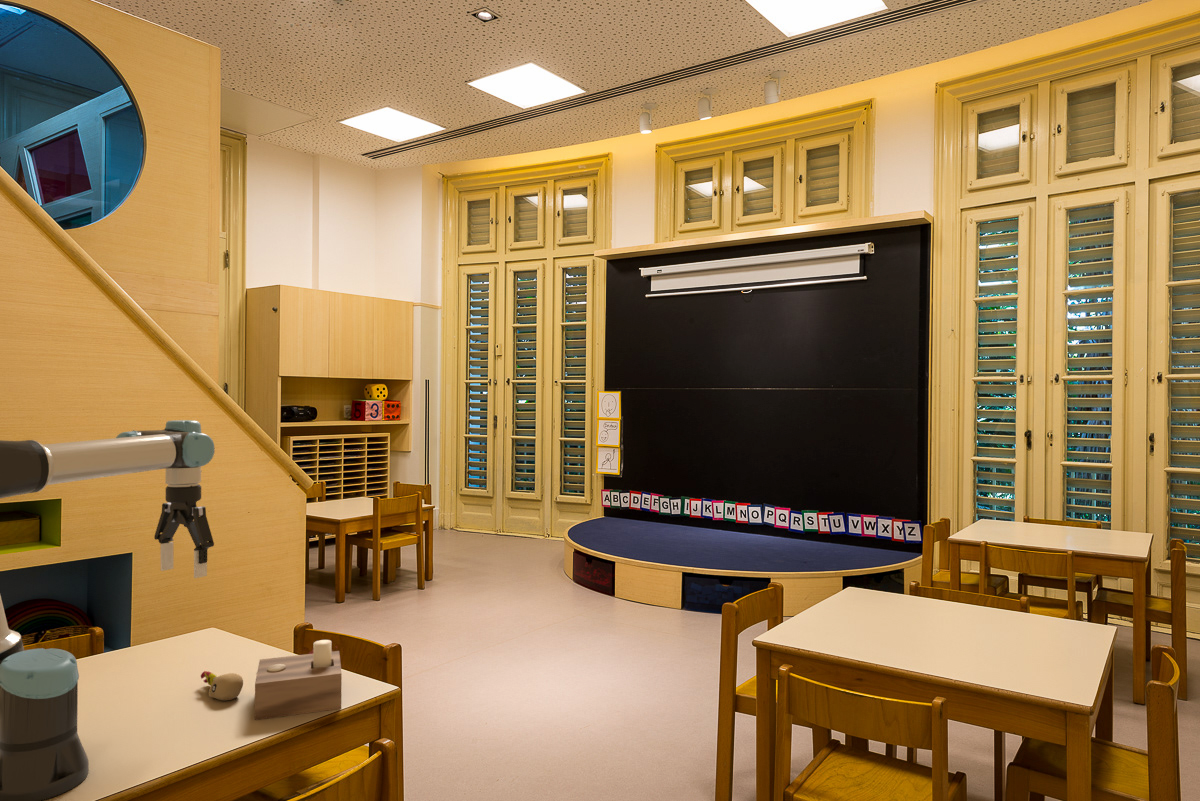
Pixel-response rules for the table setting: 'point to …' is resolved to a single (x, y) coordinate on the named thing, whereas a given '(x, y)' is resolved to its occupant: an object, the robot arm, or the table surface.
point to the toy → (223, 685)
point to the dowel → (322, 653)
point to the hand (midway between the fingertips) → (183, 573)
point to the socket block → (296, 686)
